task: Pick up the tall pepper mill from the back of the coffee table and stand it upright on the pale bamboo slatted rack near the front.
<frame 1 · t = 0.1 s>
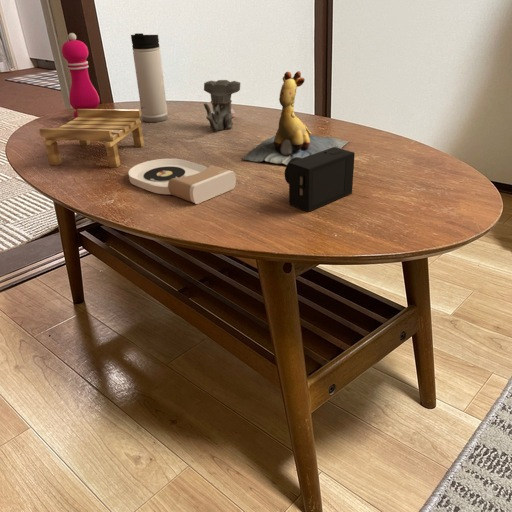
digital camera: (318, 199, 83), on the table
rack: (99, 154, 105), on the table
stuffed giraffe: (297, 151, 103), on the table
record player: (177, 183, 91), on the table
pepper mill: (88, 118, 131), on the table
travel mug: (155, 120, 128), on the table
grey flared upright piece: (217, 126, 122), on the table
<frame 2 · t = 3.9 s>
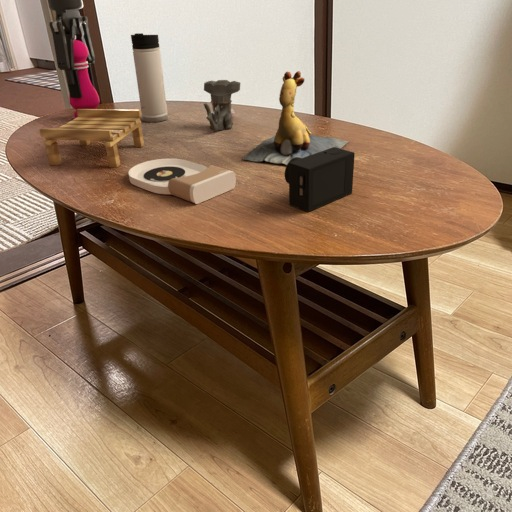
hand: (83, 94, 128), 6 cm above the table, tool pointing down, fingers closed on pepper mill, 6 cm apart
pepper mill: (88, 118, 131), on the table, touching gripper
everything else where it was.
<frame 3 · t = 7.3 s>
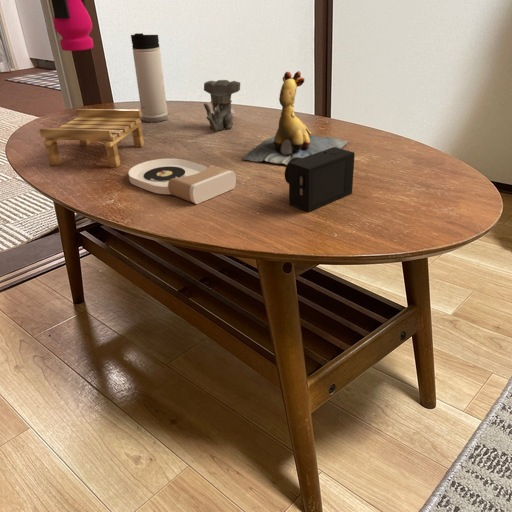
hand: (71, 16, 101), 25 cm above the table, tool pointing down, fingers closed on pepper mill, 6 cm apart
pepper mill: (78, 49, 104), point 19 cm above the table, touching gripper
everything else where it was.
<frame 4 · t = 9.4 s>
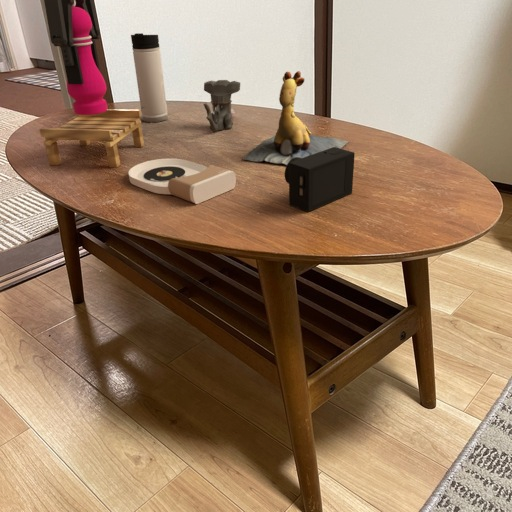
hand: (85, 79, 98), 15 cm above the table, tool pointing down, fingers closed on pepper mill, 6 cm apart
pepper mill: (91, 112, 101), point 9 cm above the table, touching gripper
everything else where it was.
when the fingers open (12 cm above the table, at t = 10.7 s): pepper mill stays where it is, resting on rack.
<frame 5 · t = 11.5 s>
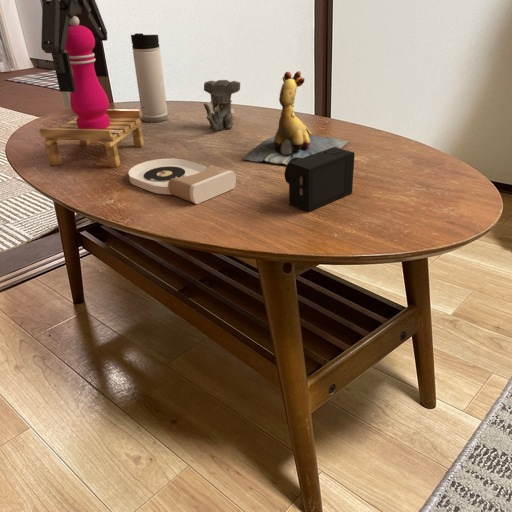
hand: (85, 83, 98), 14 cm above the table, tool pointing down, fingers open, 13 cm apart
pepper mill: (94, 127, 102), point 6 cm above the table, touching rack
everything else where it was.
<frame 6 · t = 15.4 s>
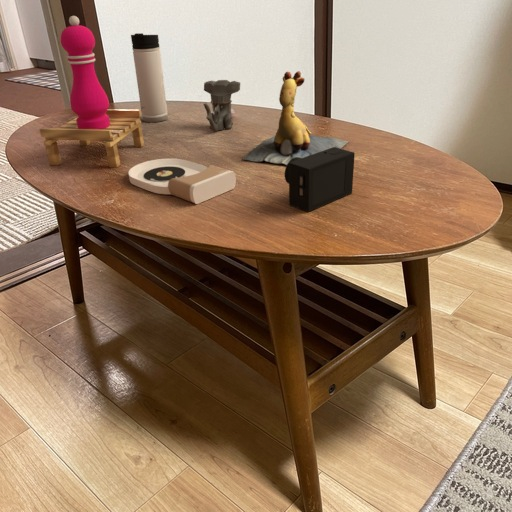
nothing on the table moved.
at the end: pepper mill inside the target area on the rack (0.1 cm from its centre), point 5.6 cm above the rack's base; pepper mill tilted 0°; the gripper is holding nothing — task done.
